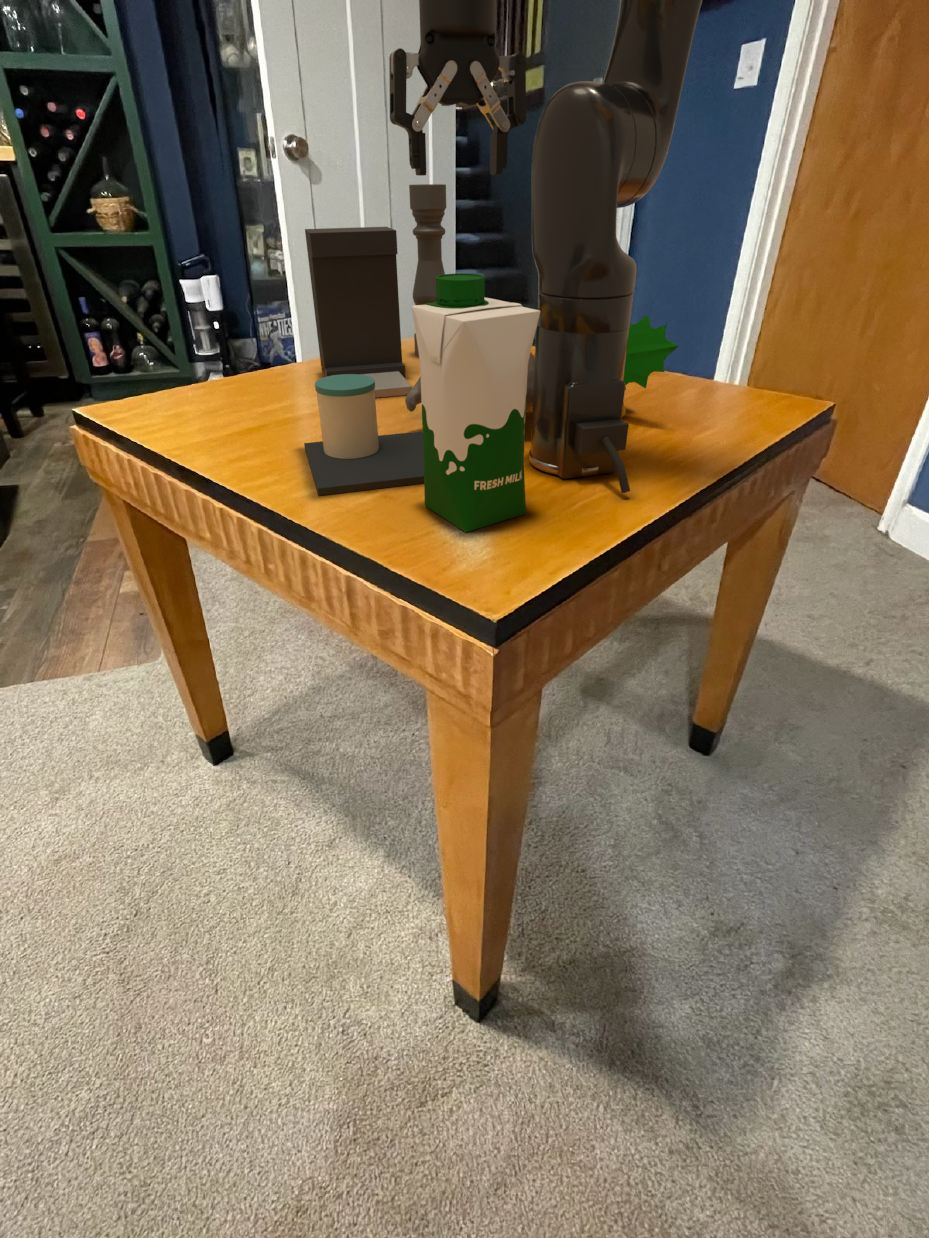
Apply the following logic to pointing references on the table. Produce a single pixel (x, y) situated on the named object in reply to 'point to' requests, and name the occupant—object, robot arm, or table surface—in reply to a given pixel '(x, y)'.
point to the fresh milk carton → (473, 401)
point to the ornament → (645, 352)
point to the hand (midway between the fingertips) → (459, 175)
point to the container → (348, 415)
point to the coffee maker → (358, 304)
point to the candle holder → (427, 240)
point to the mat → (369, 465)
